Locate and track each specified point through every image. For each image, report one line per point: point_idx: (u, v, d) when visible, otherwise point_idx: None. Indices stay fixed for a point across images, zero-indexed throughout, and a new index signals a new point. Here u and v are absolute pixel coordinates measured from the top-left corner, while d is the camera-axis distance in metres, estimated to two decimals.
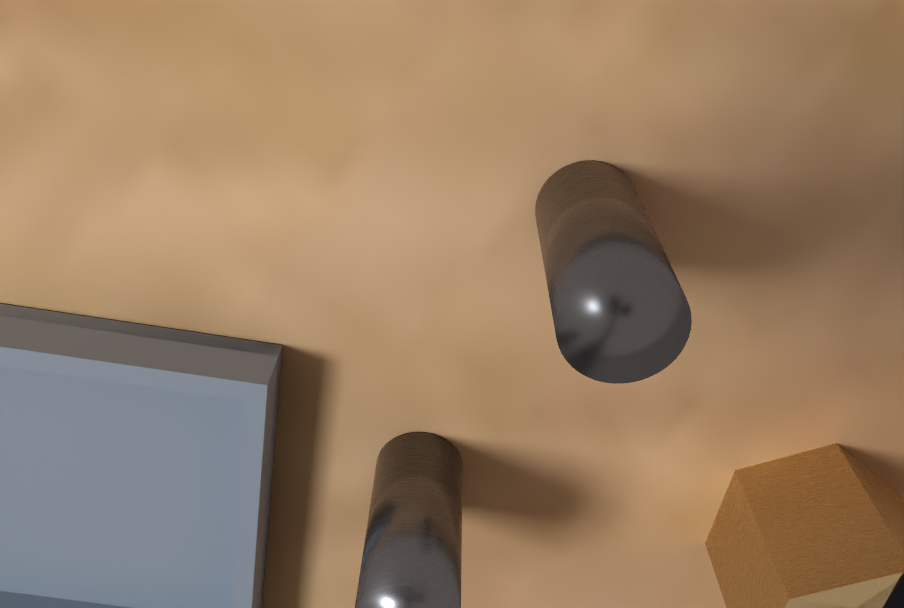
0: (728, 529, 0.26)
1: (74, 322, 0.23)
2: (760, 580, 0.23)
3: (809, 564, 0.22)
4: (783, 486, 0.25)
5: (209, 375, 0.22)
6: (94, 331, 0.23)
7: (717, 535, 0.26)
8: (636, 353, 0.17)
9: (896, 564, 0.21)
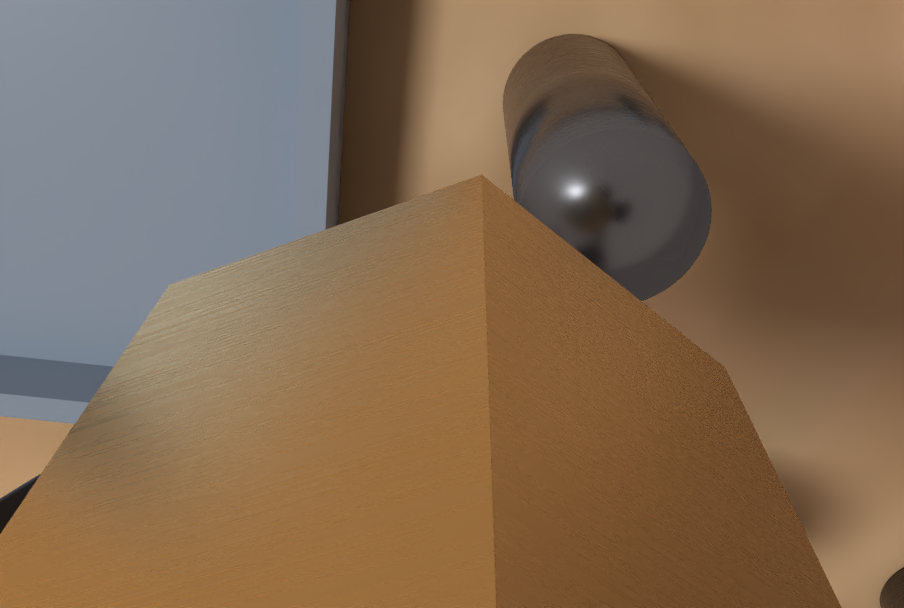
0: None
1: None
2: None
3: None
4: (245, 311, 0.07)
5: None
6: None
7: None
8: None
9: None
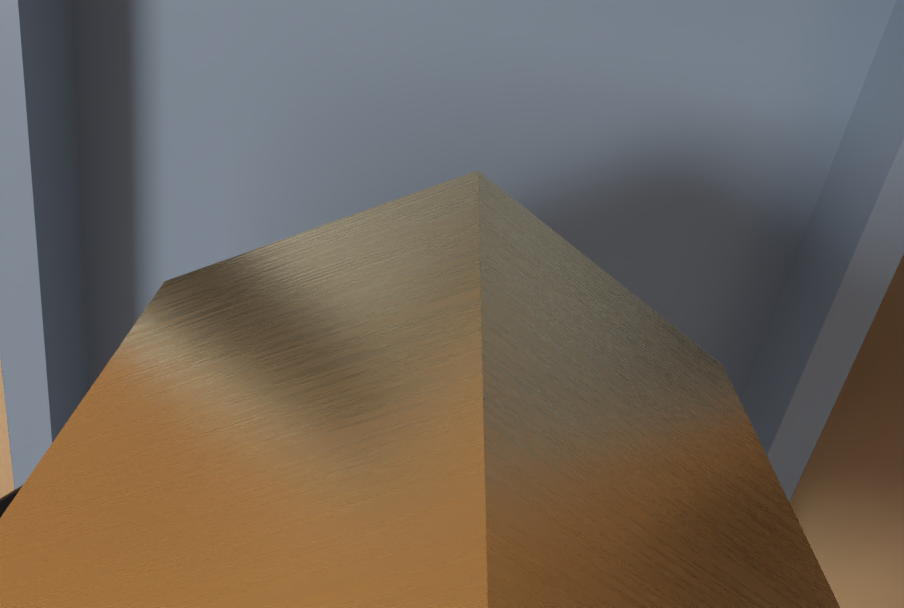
0: None
1: None
2: None
3: None
4: (239, 307, 0.06)
5: None
6: None
7: None
8: None
9: None
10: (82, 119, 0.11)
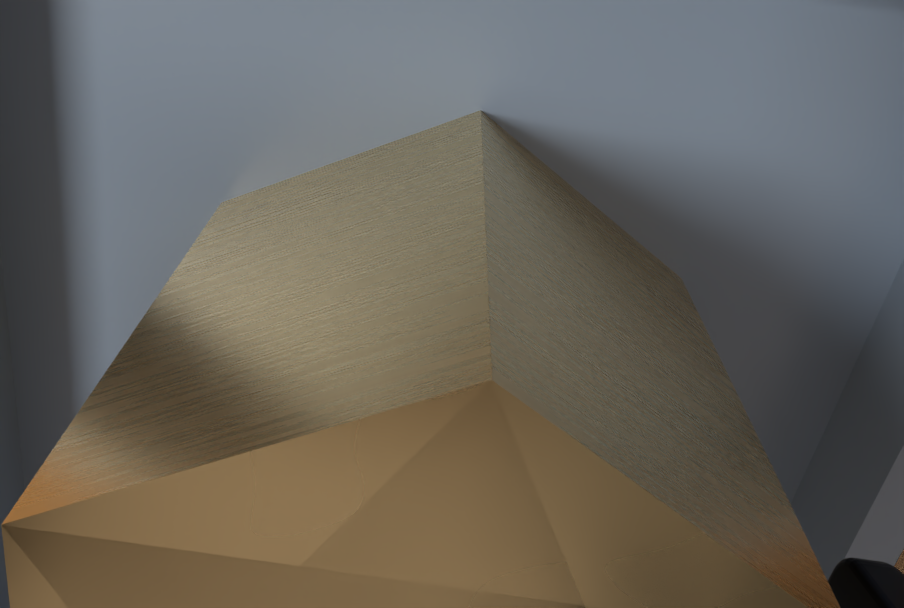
0: None
1: None
2: None
3: (173, 395, 0.06)
4: (290, 213, 0.08)
5: None
6: None
7: None
8: None
9: (441, 366, 0.05)
10: (0, 187, 0.09)
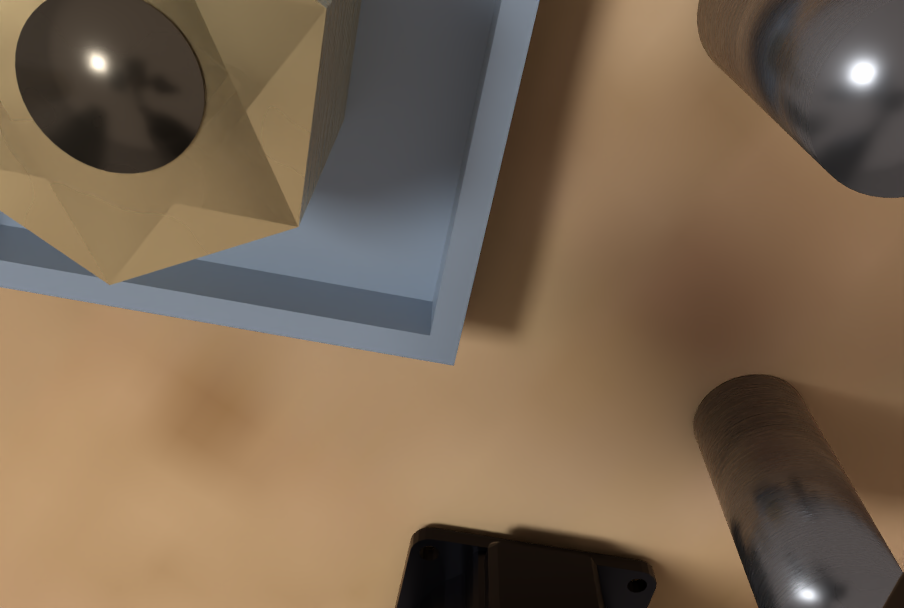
0: None
1: None
2: None
3: None
4: None
5: None
6: None
7: None
8: None
9: None
10: None
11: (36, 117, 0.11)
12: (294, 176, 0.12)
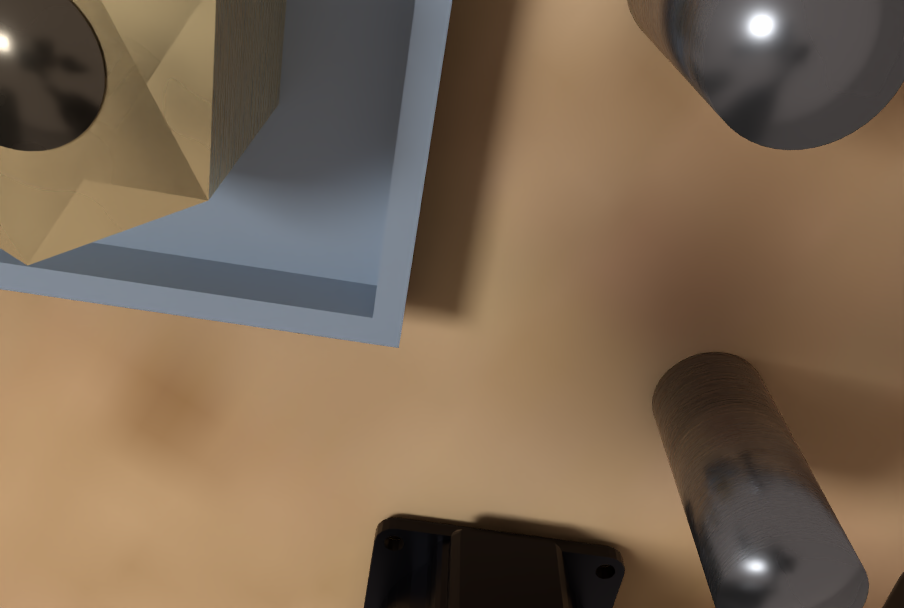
0: None
1: None
2: None
3: None
4: None
5: None
6: None
7: None
8: None
9: None
10: None
11: None
12: (200, 149, 0.12)
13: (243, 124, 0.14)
